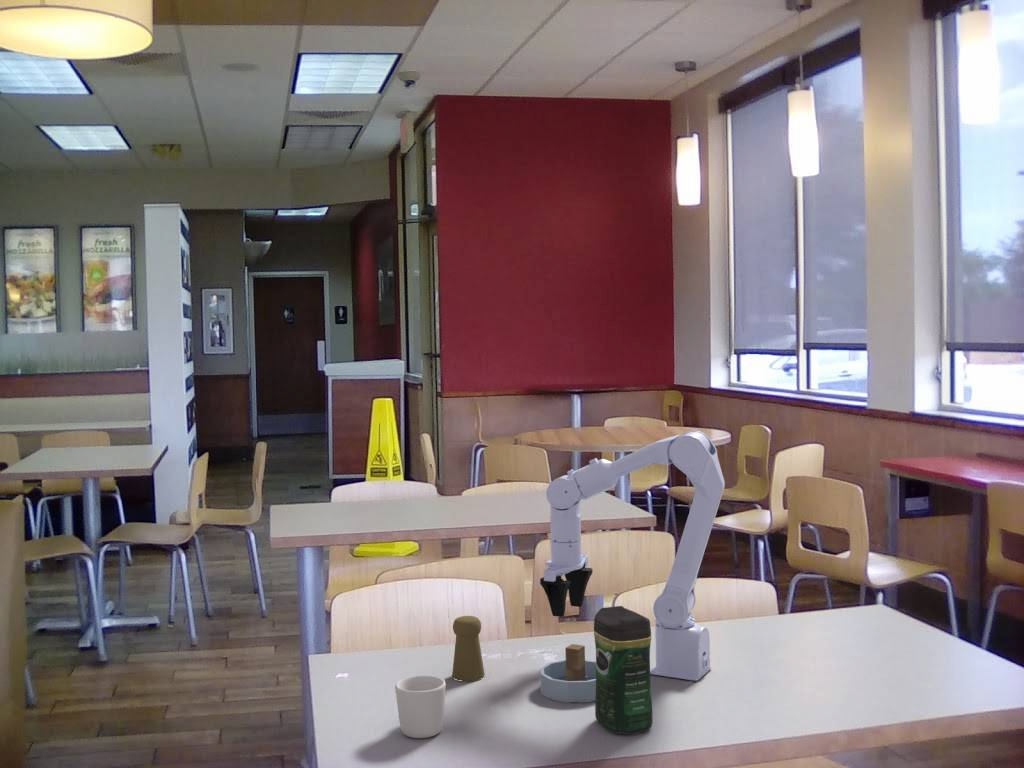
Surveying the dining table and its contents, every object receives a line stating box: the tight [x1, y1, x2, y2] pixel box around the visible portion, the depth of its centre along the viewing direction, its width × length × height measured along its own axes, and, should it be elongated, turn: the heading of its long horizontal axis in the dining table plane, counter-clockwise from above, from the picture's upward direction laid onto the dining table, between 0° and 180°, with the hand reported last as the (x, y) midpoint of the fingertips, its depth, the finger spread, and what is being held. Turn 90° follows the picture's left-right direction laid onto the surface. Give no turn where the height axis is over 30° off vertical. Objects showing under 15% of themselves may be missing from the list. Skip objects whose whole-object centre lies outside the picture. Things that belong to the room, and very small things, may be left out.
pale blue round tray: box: [539, 659, 596, 704], centre depth 184 cm, size 12×12×4 cm
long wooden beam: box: [565, 643, 586, 681], centre depth 184 cm, size 2×2×7 cm
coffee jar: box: [593, 605, 654, 735], centre depth 167 cm, size 10×8×19 cm
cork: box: [451, 615, 486, 682], centre depth 192 cm, size 6×6×11 cm
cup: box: [394, 674, 447, 739], centre depth 167 cm, size 11×8×8 cm
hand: (567, 611), depth 199 cm, fingers open, 7 cm apart
